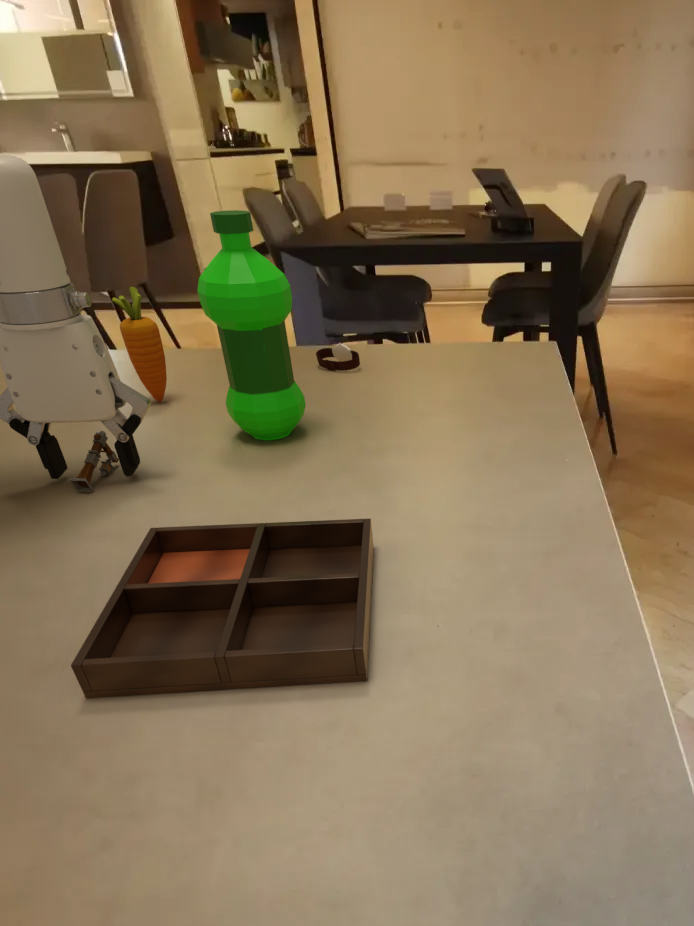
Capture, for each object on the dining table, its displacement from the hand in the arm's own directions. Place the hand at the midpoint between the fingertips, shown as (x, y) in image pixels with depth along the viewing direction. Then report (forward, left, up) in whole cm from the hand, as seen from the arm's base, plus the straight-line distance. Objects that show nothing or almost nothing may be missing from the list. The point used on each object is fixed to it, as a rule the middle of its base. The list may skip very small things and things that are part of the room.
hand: (95, 471), depth 80 cm
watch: (+25, +42, -1) cm, 49 cm away
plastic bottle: (+18, +13, -1) cm, 22 cm away
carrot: (0, +27, -1) cm, 27 cm away
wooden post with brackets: (0, 0, -1) cm, 1 cm away
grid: (+22, -29, -1) cm, 36 cm away
